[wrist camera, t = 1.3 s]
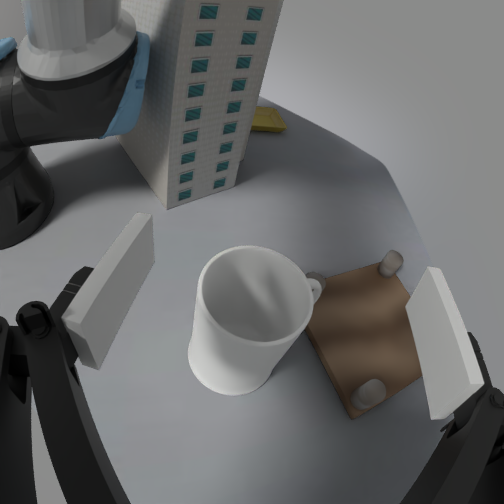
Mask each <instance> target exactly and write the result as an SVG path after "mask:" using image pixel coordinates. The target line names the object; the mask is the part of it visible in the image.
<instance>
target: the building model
mask: <svg viewBox="0 0 504 504" xmlns="http://www.w3.org/2000/svg"><path fill="white" fill-rule="evenodd" d="M283 1H284V0H122V3H121V8H122V9H124V10H126V11H127V12H128V13H130V14H131V15H132V17H133V18H134V20H135V23H136V31H139V32H141V33H146V34H148V35H149V38H150V52H149V62H148V70H147V75H146V80H145V83H144V85H145V87H144V95H143V101H142V106H141V111H140V115H139V118H138V121H137V124H136V125H135V127H134V128H133V129H132V130H131V131H130V132H128V133H126V134H122V135H116V138H117V139H118V141H119V142H120V144H121V145H122V147H123V148H124V150H125V151H126V153H127V154H128V156H129V157H130V158H131V160H132V161H133V163H134V164H135V166H136V167H137V169H138V170H139V171H140V173H141V174H142V176H143V177H144V179H145V180H146V181H147V183H148V184H149V186H150V187H151V189H152V190H153V191H154V193H155V194H156V196H157V197H158V198H159V200H160V201H161V203H162V204H163V205H164V207H165V208H166V210H168V209H170V208H173V207H176V206H179V205H182V204H184V203H187V202H190V201H193V200H196V199H199V198H202V197H205V196H208V195H211V194H214V193H217V192H220V191H223V190H226V189H229V188H232V187H234V185H235V180H236V176H237V171H238V167H239V162H240V161H241V160H244V155H245V151H246V147H247V143H248V138H249V134H250V130H251V126H252V122H253V118H254V113H255V109H256V105H257V101H258V97H259V93H260V89H261V85H262V80H263V77H264V73H265V69H266V65H267V61H268V57H269V54H270V50H271V46H272V42H273V38H274V34H275V31H276V27H277V23H278V19H279V16H280V12H281V8H282V4H283Z"/></svg>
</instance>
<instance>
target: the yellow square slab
mask: <svg viewBox="0 0 504 504" xmlns="http://www.w3.org/2000/svg"><path fill="white" fill-rule="evenodd" d="M285 129H287V126H286V125H285V123H284V121H283V120H282V118H281V117H280V115H279V113H278V112H277V110H276V109H274V108H267V107H257V106H256V109H255V113H254V118H253V122H252V126H251V130H256V131H270V132H281V131H283V130H285Z"/></svg>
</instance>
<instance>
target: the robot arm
mask: <svg viewBox="0 0 504 504" xmlns="http://www.w3.org/2000/svg"><path fill="white" fill-rule="evenodd" d="M121 3H122V0H21V5H22V10H23V15H24V20H25V25H26V29H27V35H26V36H25V37H24V39H23V40H22V42H21V44H20V46H19V49H16V46H17V43H16V41H15V39H14V38H12V37H10V38H4V39H1V40H0V249H3V248H6V247H9V246H12V245H14V244H16V243H18V242H20V241H21V240H23V239H25V238H26V237H28V236H29V235H30V234H31V233H33V232H34V231H35V230H36V229H37V228H38V227H39V226H40V225H41V224H42V222H43V221H44V220H45V218H46V217H47V215H48V214H49V212H50V210H51V207H52V204H53V199H54V193H53V189H52V185H51V181H50V178H49V176H48V174H47V172H46V171H45V169H44V168H43V166H42V165H41V164H40V162H39V161H38V159H37V158H36V156H35V155H34V153H33V152H32V150H31V148H30V146H34V145H42V144H49V143H57V142H66V141H75V140H85V139H97V138H98V139H103V138H105V137H107V136H114V135H122V134H126V133H128V132H130V131H131V130H132V129H133V128H134V127H135V125H136V124H137V121H138V118H139V115H140V111H141V106H142V101H143V95H144V87H145V85H144V83H145V80H146V75H147V70H148V62H149V52H150V38H149V35H148V34H146V33H141V32H139V31H136V23H135V20H134V18H133V17H132V15H131V14H130V13H128V12H127V11H126V10H124V9H122V8H121ZM154 262H155V258H154V242H153V222H152V215H151V214H145V213H139V212H137V213H136V214H135V215H134V217H133V218H132V219H131V221H130V222H129V223H128V224H127V226H126V227H125V228H124V229H123V231H122V232H121V233H120V235H119V236H118V237H117V239H116V240H115V241H114V243H113V244H112V245H111V247H110V248H109V249H108V251H107V252H106V253H105V255H104V256H103V257H102V259H101V260H100V261H99V263H98V264H97V266H96V267H95V268H90V267H86V266H85V267H83V268H82V269H80V270H79V271H77V272H76V273H75V274H74V275H73V277H72V278H71V279H70V281H69V283H68V284H67V285H66V286H65V288H64V289H63V291H62V292H61V293H60V295H59V296H58V297H57V299H56V300H55V302H54V303H53V305H52V306H51V308H50V309H48V306H47V305H46V304H45V303H43V302H40V301H32V302H29V303H27V304H25V305H24V306H22V307H21V308H20V309H19V311H18V313H17V314H16V322H17V324H18V326H9V324H8V322H7V320H6V319H5V318H3V317H1V316H0V504H37V497H36V490H35V481H34V471H33V458H32V438H31V393H32V389H33V394H34V399H35V404H36V408H37V412H38V416H39V420H40V424H41V428H42V431H43V435H44V439H45V442H46V445H47V449H48V452H49V455H50V458H51V461H52V464H53V467H54V470H55V473H56V476H57V479H58V481H59V484H60V486H61V489H62V492H63V494H64V497H65V499H66V502H67V504H131V503H130V501H129V499H128V498H127V496H126V494H125V492H124V490H123V488H122V486H121V484H120V482H119V480H118V477H117V475H116V473H115V471H114V469H113V467H112V465H111V462H110V460H109V458H108V456H107V453H106V451H105V449H104V446H103V444H102V441H101V439H100V436H99V434H98V431H97V429H96V426H95V423H94V421H93V418H92V415H91V413H90V410H89V407H88V404H87V401H86V398H85V395H84V392H83V389H82V386H81V383H80V379H79V376H78V373H77V369H76V367H75V365H74V363H75V361H76V359H77V358H78V357H79V359H80V361H81V363H82V365H85V366H88V367H91V368H94V369H97V370H99V369H100V367H101V365H102V363H103V361H104V359H105V357H106V355H107V353H108V351H109V348H110V346H111V344H112V342H113V340H114V338H115V336H116V334H117V332H118V330H119V328H120V326H121V324H122V322H123V320H124V318H125V316H126V315H127V313H128V311H129V309H130V307H131V305H132V303H133V301H134V299H135V297H136V295H137V294H138V292H139V290H140V288H141V286H142V284H143V282H144V281H145V279H146V277H147V275H148V273H149V271H150V270H151V268H152V266H153V264H154ZM405 307H406V311H407V314H408V318H409V322H410V325H411V329H412V333H413V337H414V341H415V345H416V349H417V353H418V357H419V361H420V366H421V370H422V375H423V380H424V384H425V389H426V395H427V400H428V405H429V411H430V417H431V420H433V419H445V418H447V417H448V416H449V415H450V414H451V413H454V417H455V418H454V419H453V420H452V421H450V422H449V423H448V424H447V425H445V426H444V427H443V428H442V429H441V430H440V431H441V432H442V431H444V430H445V429H446V431H445V433H444V435H443V437H442V439H441V440H440V442H439V444H438V446H437V448H436V449H435V451H434V453H433V454H432V456H431V458H430V459H429V461H428V463H427V464H426V466H425V467H424V469H423V471H422V472H421V474H420V475H419V477H418V478H417V480H416V481H415V483H414V484H413V486H412V487H411V489H410V490H409V492H408V493H407V494H406V496H405V497H404V499H403V500H402V501H401V503H400V504H504V394H503V393H502V392H501V391H500V390H499V389H497V388H493V386H492V384H491V380H490V377H489V374H488V371H487V368H486V365H485V362H484V360H483V356H482V353H480V351H481V350H480V348H479V345H478V342H477V340H476V339H475V338H474V336H473V335H472V333H471V332H467V331H466V328H465V326H464V323H463V321H462V318H461V315H460V313H459V311H458V308H457V306H456V303H455V301H454V299H453V296H452V294H451V292H450V289H449V287H448V285H447V283H446V281H445V278H444V276H443V274H442V272H441V270H440V269H438V268H434V267H429V266H428V267H427V269H426V271H425V273H424V274H423V276H422V278H421V280H420V282H419V284H418V285H417V287H416V289H415V291H414V292H413V294H412V296H411V298H410V299H409V301H408V303H407V304H406V306H405Z"/></svg>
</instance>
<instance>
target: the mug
mask: <svg viewBox="0 0 504 504" xmlns="http://www.w3.org/2000/svg"><path fill="white" fill-rule="evenodd" d="M312 289H314V291H313V292H312ZM321 291H322V288H321V285H320V283H319V282H318V281H317V280H315V279H312V278H306V276H305V274H304V273H303V272H302V270H301V269H300V268H299V267H298V266H297V265H296V264H295V263H294V262H293V261H291V260H290V259H289V258H287V257H286V256H284V255H282V254H280V253H278V252H276V251H274V250H271V249H268V248H264V247H260V246H237V247H233V248H229V249H226V250H224V251H222V252H220V253H218V254H217V255H215V256H214V257H213V258H212V259H211V260H210V261H209V262H208V263H207V264H206V265H205V267H204V269H203V270H202V272H201V275H200V278H199V282H198V288H197V296H196V305H195V314H194V323H193V333H192V337H191V340H190V343H189V347H188V359H189V363H190V366H191V369H192V371H193V373H194V374H195V376H196V377H197V379H198V380H199V381H200V382H201V383H202V384H203V385H205V386H206V387H207V388H209V389H211V390H213V391H215V392H217V393H220V394H224V395H232V396H235V395H243V394H247V393H250V392H252V391H254V390H256V389H258V388H259V387H260V386H262V385H263V384H264V383H265V382H266V380H267V379H268V378H269V376H270V374H271V372H272V370H273V368H274V367H275V366H276V364H277V363H278V362H279V361H280V359H281V358H282V357H283V356H284V354H285V353H286V352H287V351H288V349H289V348H290V347H291V345H292V344H293V343H294V342H295V340H296V339H297V338H298V337H299V335H300V334H301V333H302V331H303V330H304V329H305V327H306V326H307V324H308V322H309V321H310V318H311V316H312V312H313V306H314V304H315V302H316V301H317V300H318V298H319V297H320V295H321Z"/></svg>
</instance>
